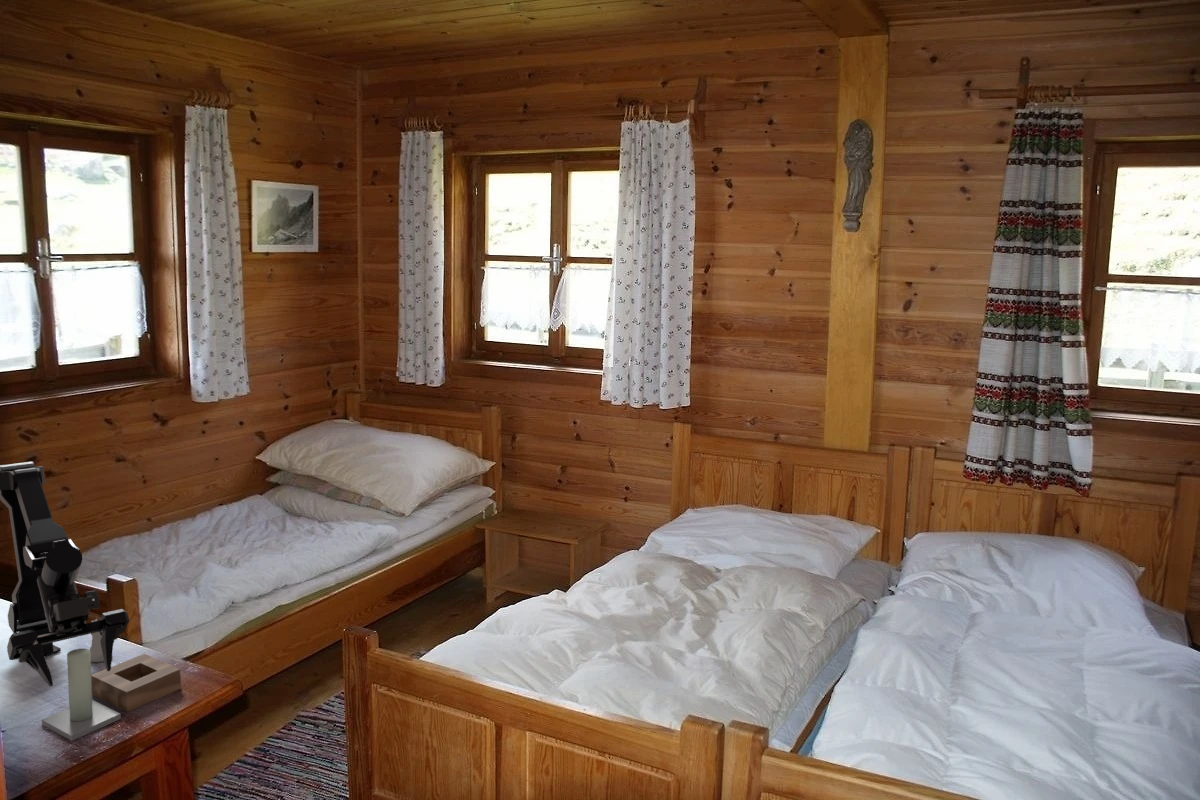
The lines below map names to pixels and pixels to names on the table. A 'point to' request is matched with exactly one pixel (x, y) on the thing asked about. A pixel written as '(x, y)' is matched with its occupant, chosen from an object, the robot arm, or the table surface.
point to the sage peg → (79, 684)
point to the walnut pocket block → (135, 682)
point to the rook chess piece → (96, 647)
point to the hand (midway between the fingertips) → (80, 677)
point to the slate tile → (80, 728)
